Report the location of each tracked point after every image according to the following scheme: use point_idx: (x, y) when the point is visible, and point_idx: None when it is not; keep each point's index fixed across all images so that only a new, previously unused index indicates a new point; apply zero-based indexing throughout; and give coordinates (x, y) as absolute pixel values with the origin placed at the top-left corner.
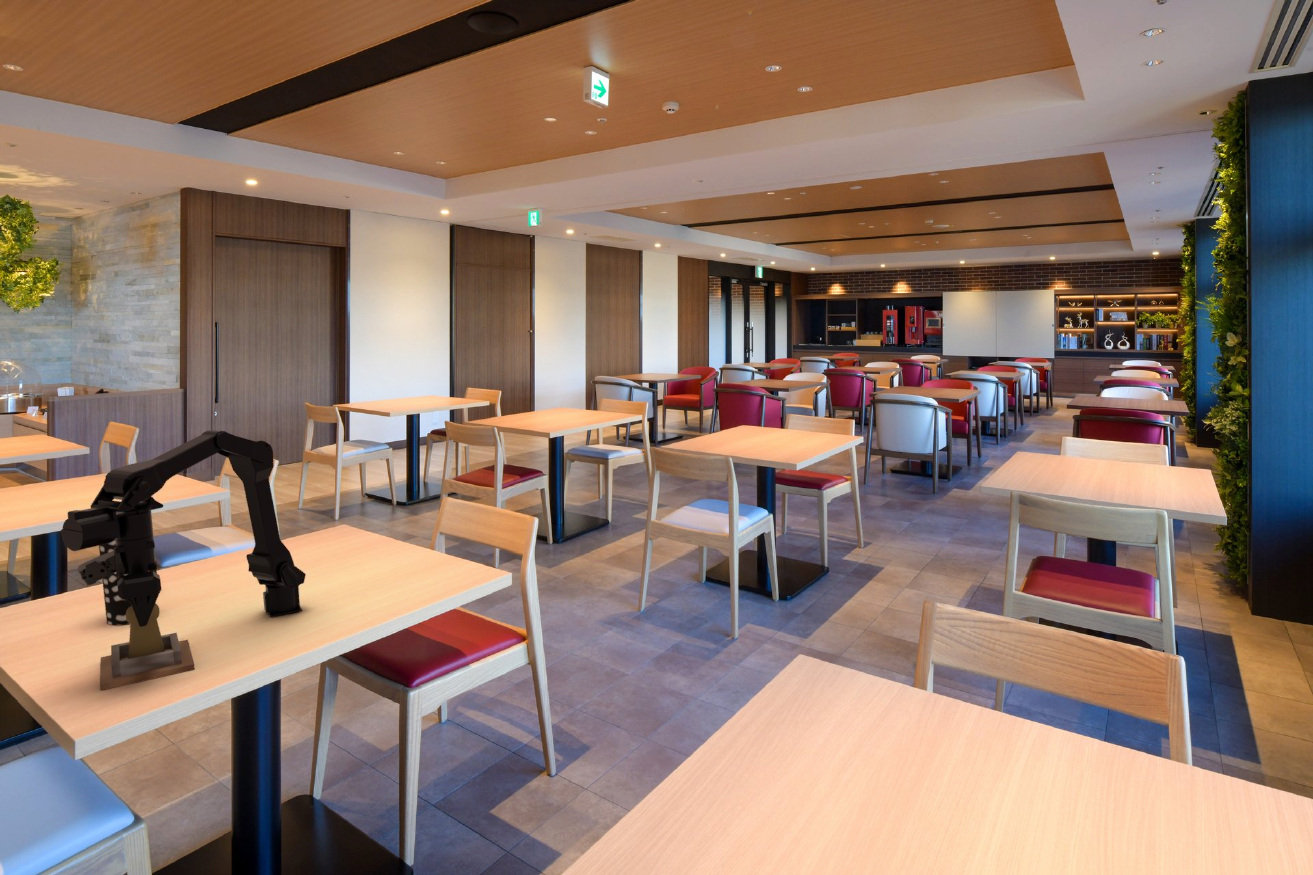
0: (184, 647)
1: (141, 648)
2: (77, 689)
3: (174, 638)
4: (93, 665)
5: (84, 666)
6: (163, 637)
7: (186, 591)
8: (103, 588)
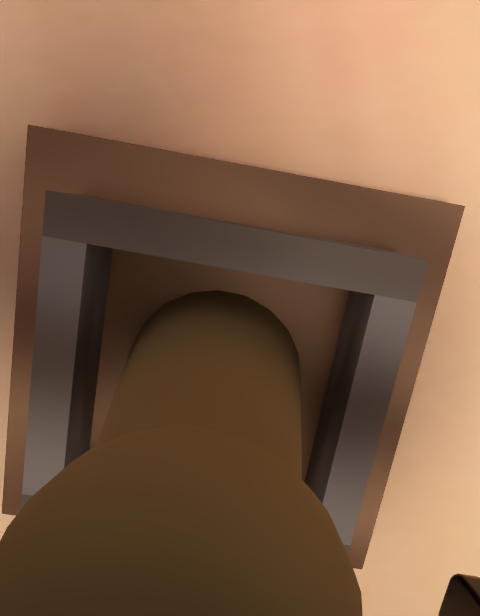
0: None
1: (120, 380)
2: (141, 40)
3: None
4: (436, 167)
5: (460, 128)
6: None
7: None
8: None
